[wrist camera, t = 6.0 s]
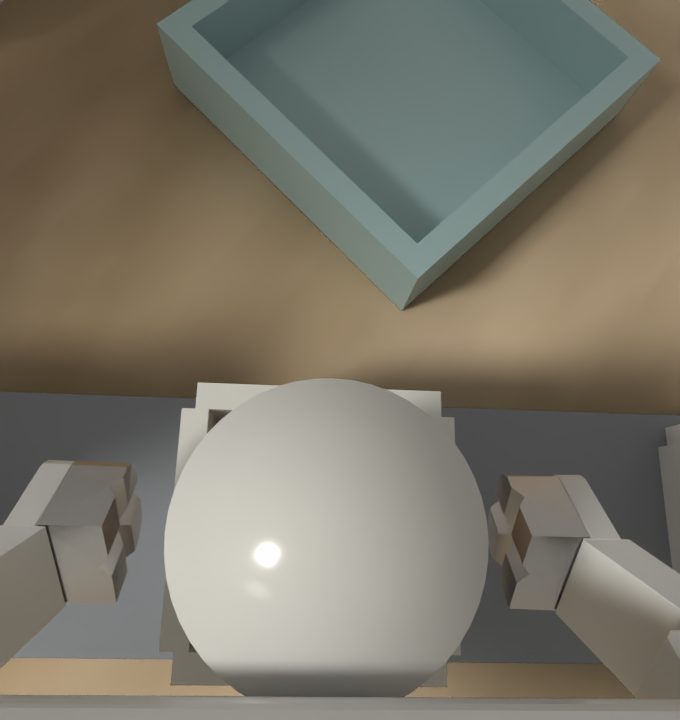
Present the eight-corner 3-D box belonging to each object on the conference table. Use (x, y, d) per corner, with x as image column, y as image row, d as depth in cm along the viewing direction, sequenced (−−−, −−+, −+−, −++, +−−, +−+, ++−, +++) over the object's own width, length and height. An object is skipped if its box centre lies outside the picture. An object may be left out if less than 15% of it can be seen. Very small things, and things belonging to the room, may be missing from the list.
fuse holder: (874, 655, 18) (1114, 712, 13) (-331, 641, 16) (-644, 703, 11) (830, 429, 20) (1023, 397, 15) (-257, 391, 18) (-493, 338, 13)
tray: (174, 85, 22) (156, 23, 19) (400, -73, 24) (412, -147, 22) (401, 310, 20) (417, 278, 17) (618, 114, 23) (660, 59, 20)
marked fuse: (216, 522, 16) (95, 531, 7) (315, 429, 17) (335, 318, 8) (308, 627, 16) (321, 802, 6) (406, 526, 17) (552, 540, 7)
